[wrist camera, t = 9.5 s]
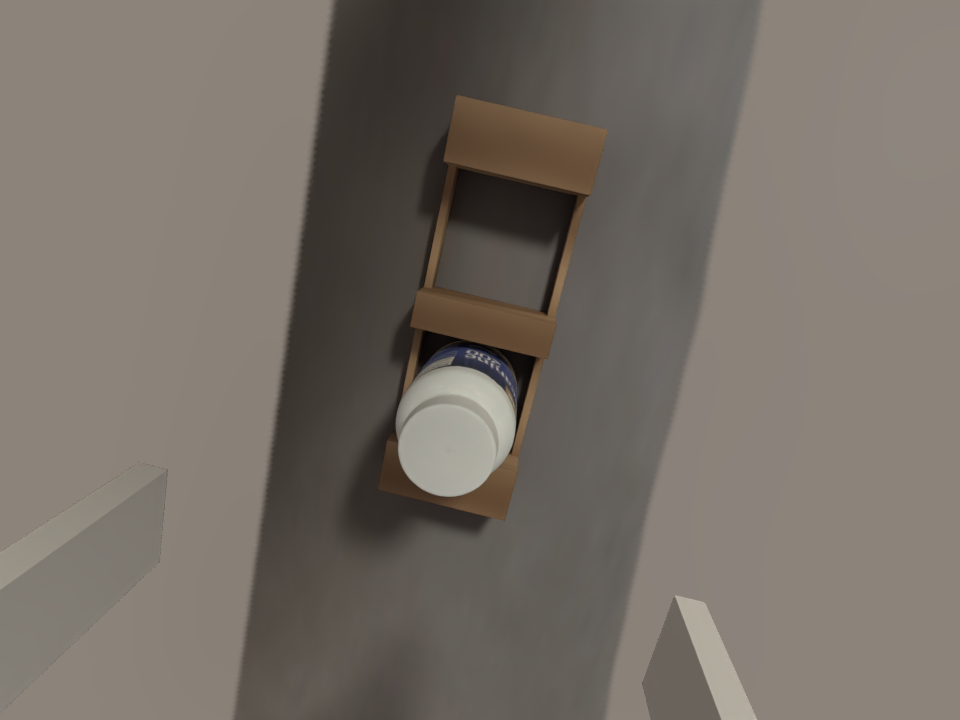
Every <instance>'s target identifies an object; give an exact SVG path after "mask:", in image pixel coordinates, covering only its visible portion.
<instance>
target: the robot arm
mask: <svg viewBox="0 0 960 720" xmlns="http://www.w3.org/2000/svg"><path fill="white" fill-rule="evenodd" d="M167 472H168V470H167V469H164V468H160V467H155V466H151V465H147V464H143V463H137V464H135V465H134V466H132V467H131V468H129V469H128V470H126V471H125V472H123V473H122V474H120V475H118V476H117V477H115V478H114V479H112V480H111V481H109V482H108V483H106V484H105V485H103V486H102V487H100V488H98V489H97V490H95V491H94V492H92V493H91V494H89V495H88V496H86V497H84V498H83V499H81V500H80V501H78V502H77V503H75V504H74V505H72V506H71V507H69V508H67V509H66V510H64V511H63V512H61V513H60V514H58V515H57V516H55V517H54V518H52V519H51V520H49V521H47V522H46V523H44V524H43V525H41V526H40V527H38V528H37V529H35V530H33V531H32V532H30V533H29V534H27V535H26V536H24V537H23V538H21V539H20V540H18V541H16V542H15V543H13V544H12V545H10V546H9V547H7V548H6V549H4V550H3V551H1V552H0V713H1V712H2V711H3V710H4V709H5V708H6V707H7V706H8V705H9V704H11V703H12V701H14V700H15V699H16V698H17V697H18V696H19V695H20V694H21V693H22V692H23V691H24V690H25V689H26V688H27V687H28V686H30V685H31V683H33V682H34V681H35V680H36V679H37V678H38V677H39V676H40V675H41V674H42V673H43V672H44V671H45V670H46V669H47V668H48V667H49V666H50V665H52V664H53V662H55V661H56V660H57V659H58V658H59V657H60V656H61V655H62V654H63V653H64V652H65V651H66V650H67V649H68V648H69V647H71V646H72V645H73V644H74V643H75V642H76V641H77V640H78V639H79V638H80V637H81V636H82V635H83V634H84V633H85V632H86V631H87V630H88V629H89V628H90V627H92V626H93V625H94V624H95V623H96V622H97V621H98V620H99V619H100V618H101V617H102V616H103V615H104V614H105V613H106V612H107V611H108V610H109V609H110V608H111V607H113V605H115V604H116V603H117V602H118V601H119V600H120V599H121V598H122V597H123V596H124V595H125V594H126V593H127V592H128V591H129V590H130V589H131V588H132V587H134V586H135V585H136V584H137V583H138V582H139V581H140V580H141V579H142V578H143V577H144V576H145V575H146V574H147V573H148V572H149V571H150V570H151V569H152V568H154V567H155V566H156V565H157V564H158V563H159V560H160V550H161V539H162V528H163V516H164V505H165V494H166V483H167ZM642 684H643V689H644V693H645V697H646V701H647V706H648V710H649V714H650V718H651V720H757V719H756V716H755V714H754V712H753V710H752V707H751V705H750V703H749V701H748V699H747V697H746V694H745V692H744V689H743V687H742V685H741V683H740V681H739V678H738V676H737V674H736V672H735V669H734V667H733V665H732V663H731V660H730V658H729V656H728V653H727V651H726V649H725V647H724V645H723V642H722V640H721V638H720V636H719V633H718V631H717V629H716V627H715V624H714V622H713V620H712V618H711V615H710V613H709V611H708V609H707V606H706V604H705V603H704V602H700V601H697V600H692V599H689V598H684V597H680V596H676V595H675V596H674V598H673V601H672V603H671V606H670V609H669V612H668V614H667V617H666V620H665V623H664V625H663V628H662V631H661V634H660V637H659V639H658V642H657V644H656V647H655V650H654V653H653V655H652V658H651V661H650V663H649V666H648V669H647V672H646V674H645V677H644V680H643V682H642Z"/></svg>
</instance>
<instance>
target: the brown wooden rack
mask: <svg viewBox="0 0 960 720" xmlns="http://www.w3.org/2000/svg"><path fill="white" fill-rule="evenodd" d="M607 132H608V130H607V129H603V128H598V127H594V126H590V125H585V124H581V123H577V122H572V121H568V120H564V119H559V118H555V117H551V116H546V115H542V114H537V113H533V112H529V111H524V110H520V109H516V108H511V107H507V106H503V105H498V104H494V103H490V102H485V101H481V100H477V99H472V98H468V97H464V96H459V95H456V99H455V104H454V109H453V114H452V119H451V124H450V129H449V134H448V139H447V144H446V149H445V154H444V159H443V161H444V162H445V163H447V164H448V165H449V166H448V171H447V176H446V181H445V186H444V190H443V195H442V200H441V205H440V210H439V215H438V220H437V225H436V230H435V235H434V240H433V245H432V250H431V255H430V260H429V265H428V270H427V274H426V279H425V284H424V287H423V288H421V289H420V290H418V291H417V294H416V299H415V304H414V309H413V314H412V319H411V324H410V327H414V328H416V329H415V334H414V339H413V344H412V349H411V354H410V359H409V363H408V368H407V373H406V378H405V383H404V388H403V393H402V397H403V395H404V394H405V392H406V391H407V389H408V388H409V386H410V385H411V384H412V382H413V381H414V379H415V378H416V373H417V368H418V363H419V358H420V353H421V349H422V344H423V339H424V334H425V330H426V331H430V332H435V333H439V334H443V335H447V336H451V337H455V338H460V339H464V340H468V341H472V342H476V343H481V344H485V345H489V346H493V347H497V348H502V349H506V350H510V351H514V352H518V353H522V354H527V355H531V356H535V360H534V364H533V368H532V372H531V375H530V379H529V383H528V387H527V391H526V395H525V399H524V402H523V406H522V410H521V414H520V418H519V422H518V426H517V430H516V433H515V437H514V441H513V445H512V448H511V449H510V452H509V454H508V455H507V457H506V458H505V460H504V461H503V463H502V464H501V465H500V466H499V467H498V468H497V469H496V470H494V471H493V472H492V473H491V474H490V475H489V477H488V478H487V480H486V481H485V482H484V483H483V484H482V485H481V486H479V487H478V488H477V489H475V490H473V491H471V492H469V493H467V494H464V495H460V496H455V497H445V496H438V495H434V494H431V493H429V492H426V491H424V490H422V489H421V488H419V487H418V486H417V485H416V484H414V483H413V482H412V481H411V480H410V479H409V478H408V476H407V475H406V473H405V472H404V470H403V468H402V466H401V463H400V460H399V455H398V438H397V434H396V427H395V429H394V430H393V432H392V434H391V435H390V437H389V438H388V440H387V444H386V449H385V454H384V459H383V465H382V470H381V475H380V480H379V485H378V490H381V491H385V492H389V493H393V494H397V495H402V496H406V497H410V498H414V499H418V500H422V501H426V502H430V503H434V504H438V505H442V506H446V507H450V508H455V509H459V510H463V511H467V512H471V513H475V514H479V515H483V516H487V517H491V518H495V519H499V520H504V521H505V518H506V515H507V511H508V507H509V503H510V500H511V496H512V492H513V488H514V484H515V481H516V477H517V473H518V456H519V452H520V448H521V445H522V441H523V437H524V433H525V429H526V426H527V422H528V418H529V414H530V410H531V406H532V403H533V399H534V395H535V391H536V387H537V384H538V380H539V376H540V372H541V368H542V365H543V361H544V359H548V356H549V352H550V348H551V344H552V341H553V337H554V333H555V329H556V325H557V324H556V320H555V315H556V311H557V307H558V304H559V300H560V296H561V292H562V288H563V285H564V281H565V277H566V273H567V269H568V266H569V262H570V258H571V254H572V250H573V246H574V243H575V239H576V235H577V231H578V227H579V224H580V220H581V216H582V212H583V208H584V205H585V201H586V197H588V196H590V195H591V193H592V189H593V185H594V182H595V178H596V174H597V170H598V166H599V163H600V159H601V155H602V151H603V147H604V144H605V140H606V136H607ZM459 168H460V169H464V170H468V171H473V172H477V173H481V174H485V175H490V176H494V177H498V178H503V179H507V180H511V181H515V182H520V183H524V184H528V185H533V186H537V187H541V188H546V189H550V190H554V191H558V192H563V193H567V194H571V195H576V196H577V197H576V201H575V205H574V209H573V213H572V217H571V221H570V224H569V228H568V232H567V236H566V240H565V244H564V248H563V252H562V255H561V259H560V263H559V267H558V271H557V275H556V279H555V283H554V286H553V290H552V294H551V298H550V302H549V306H548V310H547V313H545V312H541V311H536V310H532V309H528V308H524V307H520V306H515V305H511V304H507V303H503V302H498V301H494V300H490V299H486V298H482V297H477V296H473V295H469V294H465V293H461V292H456V291H452V290H448V289H444V288H439V287H435V281H436V276H437V271H438V266H439V262H440V257H441V252H442V247H443V242H444V237H445V233H446V228H447V223H448V218H449V213H450V208H451V204H452V199H453V194H454V189H455V184H456V179H457V175H458V170H459ZM401 399H402V398H401Z"/></svg>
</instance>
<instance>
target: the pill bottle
mask: <svg viewBox="0 0 960 720" xmlns="http://www.w3.org/2000/svg"><path fill="white" fill-rule="evenodd" d="M516 414H517V380H516V376H515V373H514V370H513V368H512V366H511V364H510V362H509V361H508V359H507V358H506V357H505V356H504V355H503V354H502V353H501V352H500V351H499V350H497V349H496V348H494V347H492V346H489V345H485V344H481V343H476V342H472V341H468V340H461V341H456V342H453V343H450V344H448V345H445V346H444V347H442V348H441V349H439V350H438V351H437V352H436V353H435V354H433V356H432V357H431V358H430V359H429V360H428V361H427V363H426V364H425V365H424V366H423V368H422V370H421V371H420V372H419V374H418V375H417V377H416V378H415V379H414V381H413V382H412V384H411V385H410V386H409V388H408V389H407V391H406V392H405V394H404V395H403V397H402V399H401V402H400V404H399V407H398V410H397V415H396V434H397V438H398V455H399V460H400V463H401V466H402V468H403V470H404V472H405V473H406V475H407V476H408V478H409V479H410V480H411V481H412V482H413V483H414V484H416V485H417V486H418V487H419V488H421V489H422V490H424V491H426V492H429V493H431V494H434V495H438V496H445V497H455V496H460V495H464V494H467V493H469V492H471V491H473V490H475V489H477V488H478V487H479V486H481V485H482V484H483V483H484V482H485V481H486V480H487V478H488V477H489V475H490V474H491V473H492V472H493V471H494V470H496V469H497V468H498V467H499V466H500V465H501V464H502V463H503V461H504V460H505V458H506V457H507V455H508V454H509V452H510V449H511V447H512V444H513V441H514V437H515V429H516Z"/></svg>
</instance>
